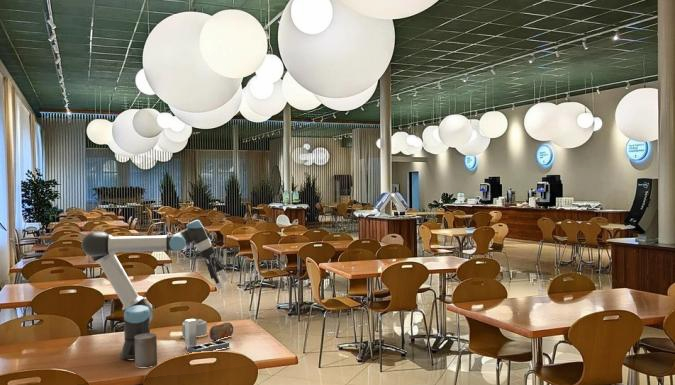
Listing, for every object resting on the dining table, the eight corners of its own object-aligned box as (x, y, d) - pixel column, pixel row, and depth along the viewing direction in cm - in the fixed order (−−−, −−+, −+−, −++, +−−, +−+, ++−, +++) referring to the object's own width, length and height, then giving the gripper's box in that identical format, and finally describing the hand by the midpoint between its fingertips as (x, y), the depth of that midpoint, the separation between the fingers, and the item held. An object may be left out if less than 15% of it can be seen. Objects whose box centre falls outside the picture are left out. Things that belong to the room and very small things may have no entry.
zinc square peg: (189, 349, 295) (189, 321, 295) (185, 347, 298) (185, 320, 297) (196, 347, 297) (196, 320, 297) (192, 346, 300) (192, 318, 300)
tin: (212, 342, 307) (212, 326, 307) (208, 341, 309) (208, 325, 308) (233, 336, 319) (233, 321, 319) (229, 336, 321) (229, 320, 320)
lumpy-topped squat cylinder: (182, 334, 325) (181, 318, 325) (205, 332, 329) (205, 317, 329) (183, 339, 315) (182, 323, 315) (207, 337, 319) (207, 321, 319)
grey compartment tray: (195, 356, 282) (195, 349, 282) (187, 353, 287) (187, 346, 287) (229, 348, 295) (229, 341, 295) (221, 345, 300) (221, 339, 300)
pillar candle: (159, 362, 273) (158, 329, 273) (153, 368, 263) (153, 335, 263) (138, 362, 273) (137, 330, 273) (132, 369, 263) (131, 335, 263)
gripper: (206, 250, 290) (225, 288, 292) (217, 240, 315) (234, 275, 317) (193, 256, 290) (212, 294, 293) (204, 246, 315) (222, 281, 317)
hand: (223, 284), depth 305 cm, fingers open, 13 cm apart
